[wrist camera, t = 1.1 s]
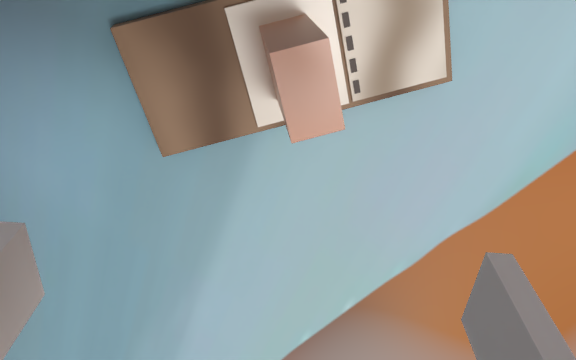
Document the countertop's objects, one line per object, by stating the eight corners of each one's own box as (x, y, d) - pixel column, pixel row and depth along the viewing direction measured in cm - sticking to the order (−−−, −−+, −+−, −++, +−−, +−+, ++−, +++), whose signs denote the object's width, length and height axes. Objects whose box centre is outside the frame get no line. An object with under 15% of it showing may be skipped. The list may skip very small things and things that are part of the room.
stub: (257, 125, 32) (267, 174, 26) (224, 7, 28) (225, 31, 22) (348, 101, 32) (379, 145, 26) (327, -20, 28) (359, -4, 22)
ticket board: (164, 149, 34) (162, 159, 32) (114, 24, 29) (108, 29, 28) (444, 75, 34) (454, 82, 32) (437, -61, 29) (448, -60, 28)
